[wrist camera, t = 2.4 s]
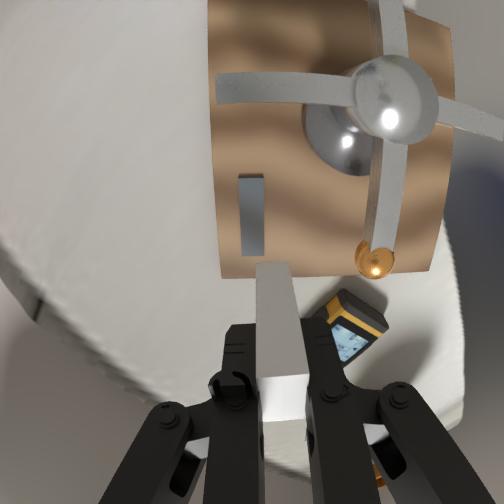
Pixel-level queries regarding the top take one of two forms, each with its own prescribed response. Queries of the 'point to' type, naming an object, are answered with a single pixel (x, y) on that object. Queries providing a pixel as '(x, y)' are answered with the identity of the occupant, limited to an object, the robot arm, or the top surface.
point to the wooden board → (298, 150)
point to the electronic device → (352, 325)
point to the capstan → (366, 122)
